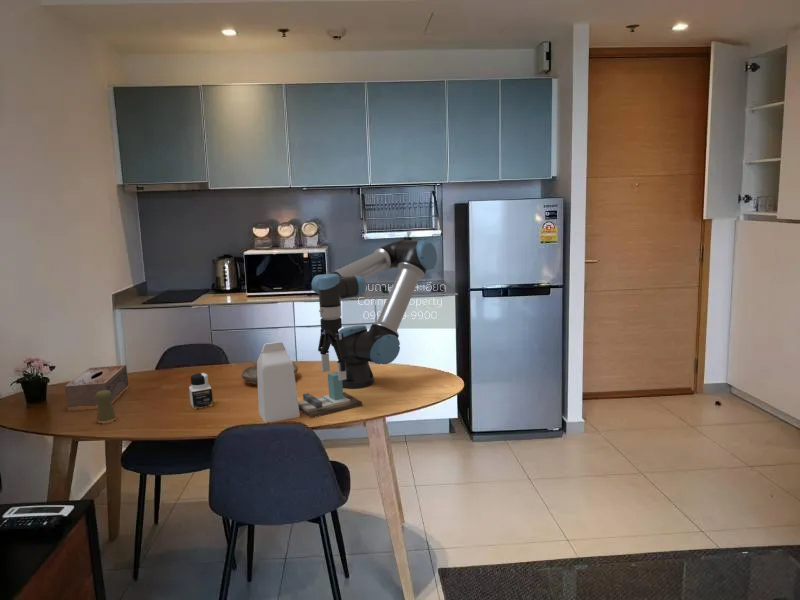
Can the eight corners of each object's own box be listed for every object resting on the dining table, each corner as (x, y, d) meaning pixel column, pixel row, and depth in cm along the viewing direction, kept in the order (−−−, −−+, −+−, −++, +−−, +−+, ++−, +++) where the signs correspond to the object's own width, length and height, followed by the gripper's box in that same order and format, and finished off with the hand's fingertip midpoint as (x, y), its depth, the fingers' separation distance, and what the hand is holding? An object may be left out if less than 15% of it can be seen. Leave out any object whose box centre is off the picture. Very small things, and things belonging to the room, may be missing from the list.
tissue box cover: (92, 391, 254) (89, 367, 252) (128, 388, 256) (126, 365, 254) (68, 412, 229) (64, 386, 227) (108, 408, 230) (105, 383, 229)
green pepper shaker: (101, 418, 219) (97, 389, 217) (118, 417, 219) (115, 387, 218) (94, 424, 213) (90, 394, 211) (112, 423, 213) (108, 393, 212)
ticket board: (295, 407, 221) (294, 395, 221) (344, 395, 232) (343, 384, 231) (310, 418, 210) (309, 405, 209) (362, 405, 220) (361, 393, 219)
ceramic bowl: (310, 376, 260) (309, 364, 260) (271, 392, 241) (269, 380, 240) (270, 370, 273) (269, 359, 272) (230, 384, 253) (229, 373, 252)
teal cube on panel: (323, 398, 225) (321, 372, 223) (337, 395, 228) (336, 369, 226) (335, 405, 216) (333, 378, 215) (350, 402, 219) (348, 375, 218)
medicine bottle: (193, 409, 224) (190, 378, 222) (190, 404, 230) (187, 373, 228) (213, 406, 227) (210, 374, 225) (210, 400, 233) (206, 370, 231)
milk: (265, 423, 207) (258, 348, 203) (258, 412, 217) (252, 341, 213) (299, 416, 212) (294, 343, 207) (292, 407, 222) (286, 337, 218)
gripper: (307, 314, 226) (310, 369, 229) (336, 324, 205) (340, 385, 208) (325, 311, 229) (328, 366, 233) (356, 321, 208) (359, 381, 212)
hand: (334, 375), depth 220 cm, fingers open, 13 cm apart
